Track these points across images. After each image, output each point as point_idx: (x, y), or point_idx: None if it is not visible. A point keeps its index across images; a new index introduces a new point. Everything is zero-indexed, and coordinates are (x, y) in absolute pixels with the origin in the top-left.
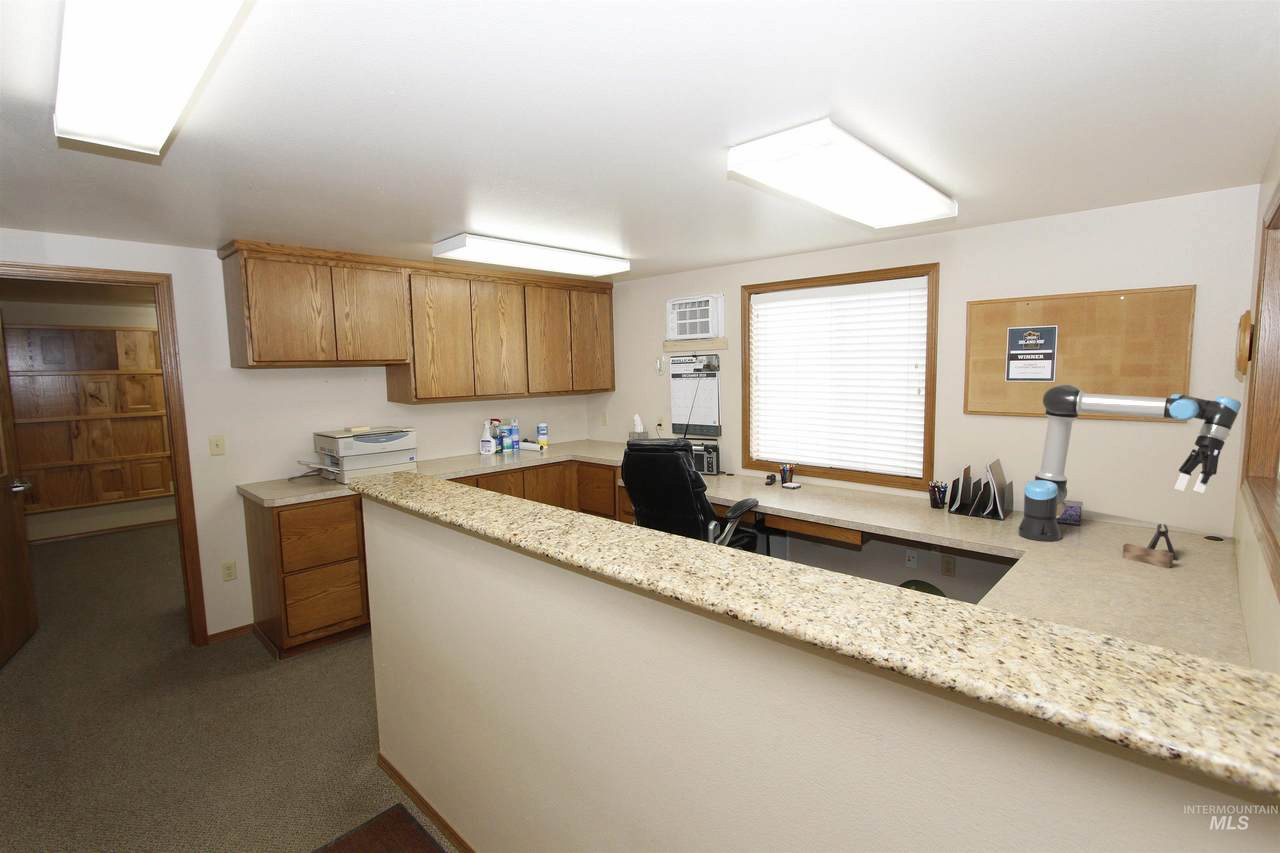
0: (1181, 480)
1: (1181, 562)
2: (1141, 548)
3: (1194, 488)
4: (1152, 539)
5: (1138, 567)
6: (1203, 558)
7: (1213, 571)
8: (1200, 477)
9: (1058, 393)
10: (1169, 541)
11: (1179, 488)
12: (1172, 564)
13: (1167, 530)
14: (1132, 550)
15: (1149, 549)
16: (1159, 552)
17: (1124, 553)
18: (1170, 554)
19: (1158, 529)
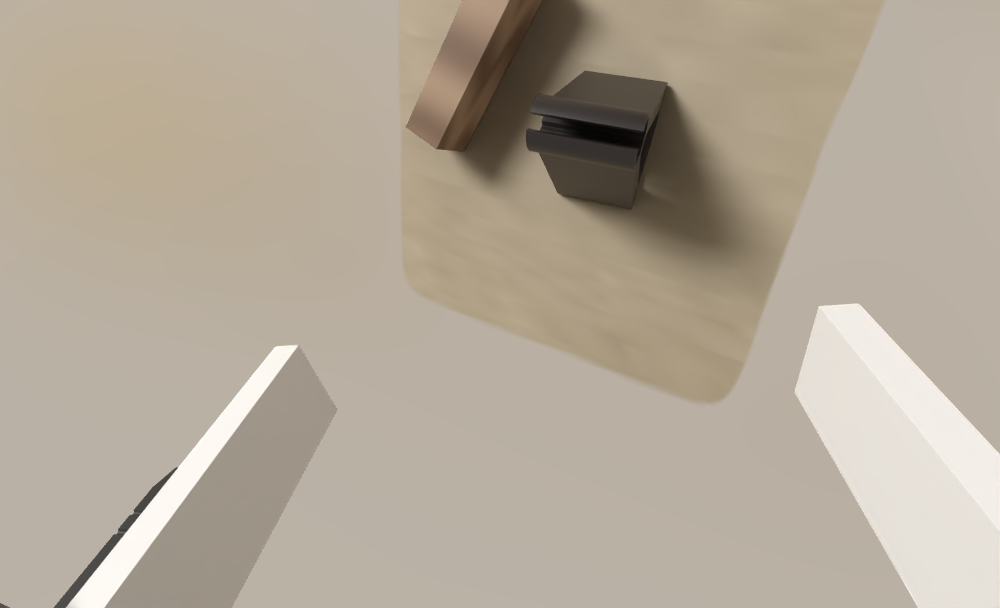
0: (921, 486)
1: (537, 202)
2: (463, 15)
3: (269, 363)
4: (638, 98)
5: (402, 14)
6: (629, 307)
7: (464, 275)
8: (137, 534)
9: None
10: (543, 160)
11: (821, 367)
12: (459, 150)
13: (528, 145)
14: None
15: (461, 53)
16: (427, 90)
17: None
18: (416, 132)
19: (537, 96)
